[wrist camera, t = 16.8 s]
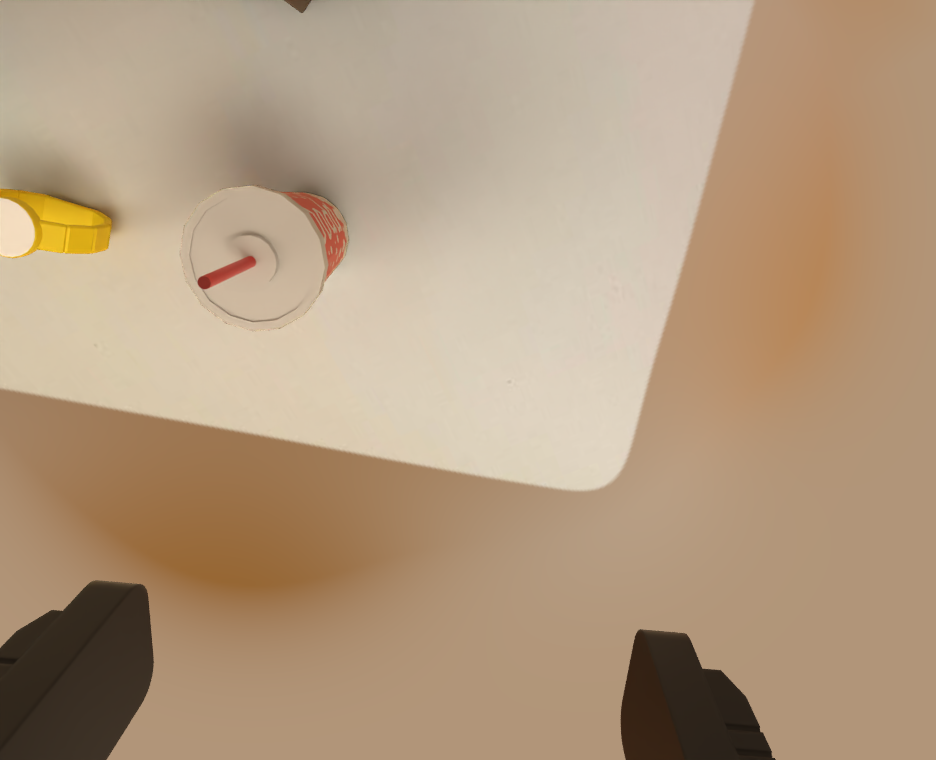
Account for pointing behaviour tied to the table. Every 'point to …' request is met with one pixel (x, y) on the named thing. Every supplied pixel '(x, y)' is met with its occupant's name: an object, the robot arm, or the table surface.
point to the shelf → (298, 4)
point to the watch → (49, 225)
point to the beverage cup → (261, 254)
